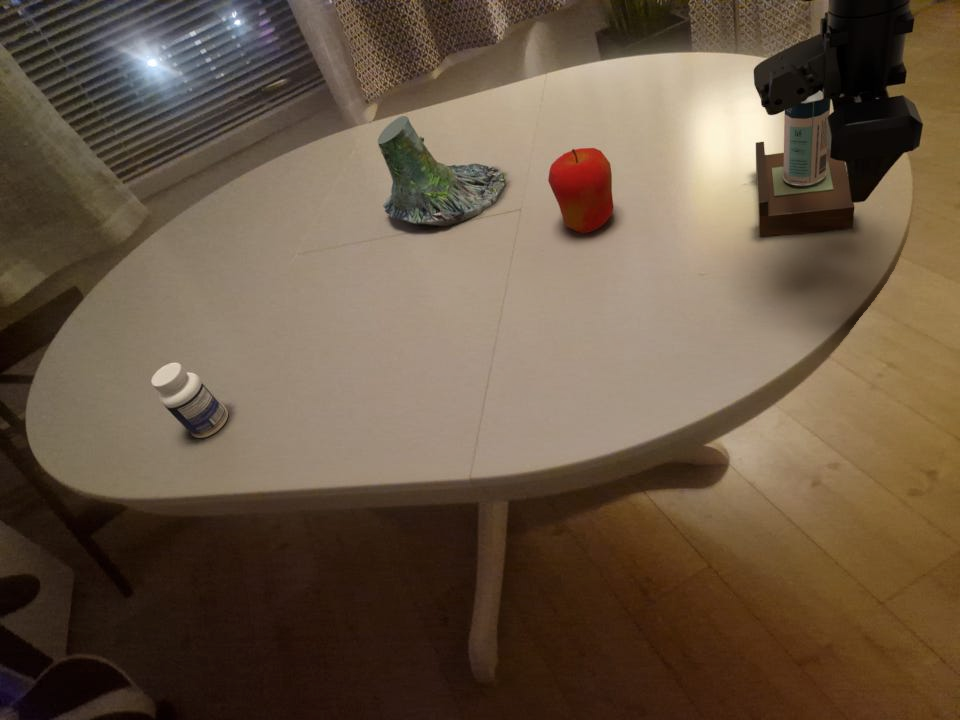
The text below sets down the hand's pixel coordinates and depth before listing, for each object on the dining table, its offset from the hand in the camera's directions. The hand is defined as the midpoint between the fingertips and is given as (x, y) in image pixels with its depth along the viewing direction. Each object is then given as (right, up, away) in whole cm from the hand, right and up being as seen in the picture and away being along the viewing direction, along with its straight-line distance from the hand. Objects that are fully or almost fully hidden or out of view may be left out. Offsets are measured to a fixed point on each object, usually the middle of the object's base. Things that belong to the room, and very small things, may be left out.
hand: (851, 174), depth 62 cm
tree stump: (-41, +9, +48) cm, 64 cm away
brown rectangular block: (+5, +2, +20) cm, 21 cm away
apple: (-20, +2, +30) cm, 36 cm away
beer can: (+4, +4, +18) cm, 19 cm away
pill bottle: (-71, -26, +24) cm, 80 cm away
